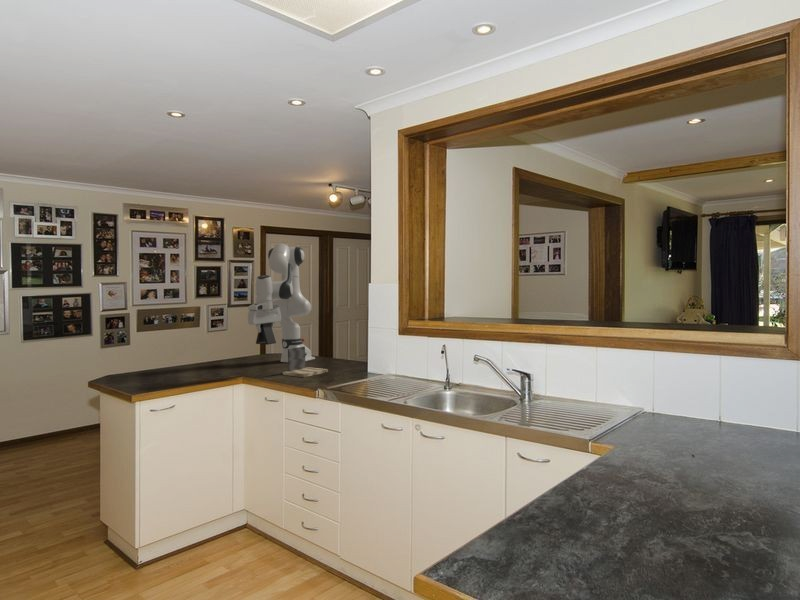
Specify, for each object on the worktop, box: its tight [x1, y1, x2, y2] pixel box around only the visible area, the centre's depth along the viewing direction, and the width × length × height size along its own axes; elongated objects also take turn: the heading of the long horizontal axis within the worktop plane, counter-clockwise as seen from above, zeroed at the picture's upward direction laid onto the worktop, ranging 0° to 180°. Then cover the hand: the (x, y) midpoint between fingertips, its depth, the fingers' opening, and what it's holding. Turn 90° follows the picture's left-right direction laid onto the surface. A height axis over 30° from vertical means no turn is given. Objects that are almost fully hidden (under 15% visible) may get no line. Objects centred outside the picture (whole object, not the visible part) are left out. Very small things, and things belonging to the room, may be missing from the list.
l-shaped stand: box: [282, 347, 329, 378], centre depth 288 cm, size 18×16×14 cm
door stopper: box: [255, 323, 277, 346], centre depth 285 cm, size 9×6×12 cm, turn 58°
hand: (265, 331), depth 285 cm, fingers closed on door stopper, 6 cm apart
